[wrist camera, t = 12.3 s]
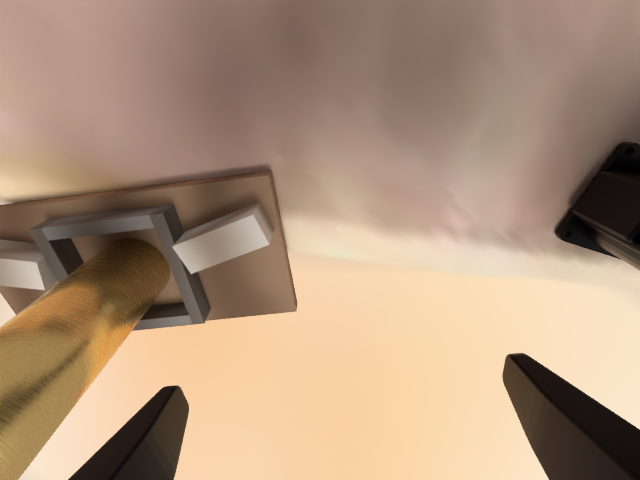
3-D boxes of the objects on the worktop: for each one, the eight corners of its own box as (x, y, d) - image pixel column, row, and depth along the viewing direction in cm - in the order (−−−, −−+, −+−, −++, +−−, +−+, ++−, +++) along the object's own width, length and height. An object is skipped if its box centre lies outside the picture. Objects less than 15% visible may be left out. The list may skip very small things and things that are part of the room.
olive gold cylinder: (181, 262, 21) (17, 472, 10) (153, 305, 23) (-14, 527, 11) (116, 225, 20) (-154, 415, 9) (92, 273, 21) (-162, 485, 10)
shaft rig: (271, 170, 19) (263, 185, 17) (297, 302, 24) (294, 330, 21) (-38, 210, 20) (-92, 229, 18) (43, 329, 25) (10, 359, 22)
